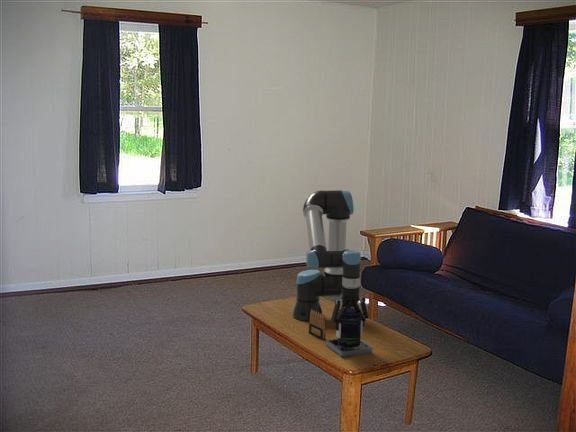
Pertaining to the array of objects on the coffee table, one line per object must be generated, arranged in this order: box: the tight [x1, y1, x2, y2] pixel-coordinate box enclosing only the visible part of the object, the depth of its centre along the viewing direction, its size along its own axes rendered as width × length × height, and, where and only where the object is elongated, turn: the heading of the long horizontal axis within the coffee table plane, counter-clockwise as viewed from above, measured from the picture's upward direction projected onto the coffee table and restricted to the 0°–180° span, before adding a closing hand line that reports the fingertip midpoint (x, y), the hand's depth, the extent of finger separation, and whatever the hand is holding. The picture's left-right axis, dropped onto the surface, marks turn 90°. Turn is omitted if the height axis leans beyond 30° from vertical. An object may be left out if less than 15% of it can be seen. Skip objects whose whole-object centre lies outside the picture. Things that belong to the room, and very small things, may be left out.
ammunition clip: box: [308, 309, 326, 341], centre depth 305 cm, size 11×2×12 cm, turn 35°
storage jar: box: [337, 307, 362, 348], centre depth 288 cm, size 10×10×15 cm
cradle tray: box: [325, 338, 373, 358], centre depth 290 cm, size 15×15×2 cm
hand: (349, 335), depth 289 cm, fingers closed on storage jar, 10 cm apart
